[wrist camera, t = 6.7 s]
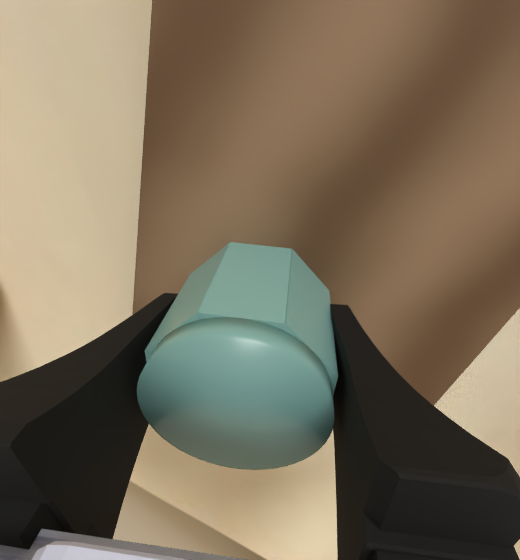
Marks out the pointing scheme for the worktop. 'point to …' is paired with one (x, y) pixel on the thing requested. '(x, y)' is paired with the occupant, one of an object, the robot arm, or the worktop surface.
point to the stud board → (344, 160)
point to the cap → (244, 361)
